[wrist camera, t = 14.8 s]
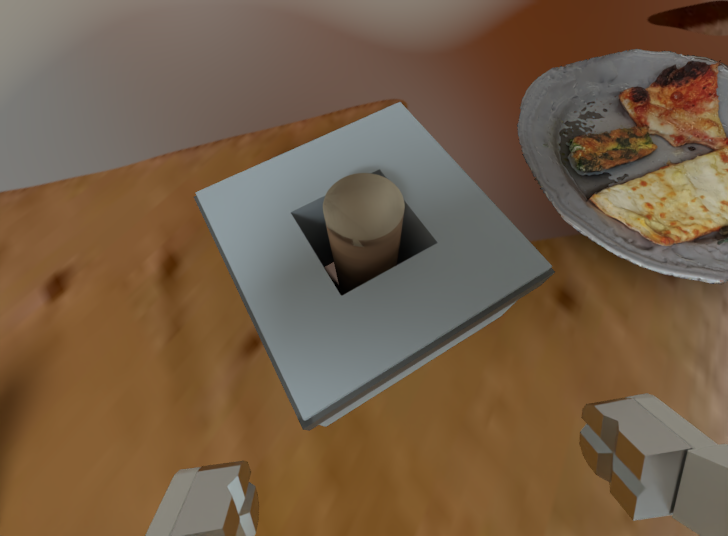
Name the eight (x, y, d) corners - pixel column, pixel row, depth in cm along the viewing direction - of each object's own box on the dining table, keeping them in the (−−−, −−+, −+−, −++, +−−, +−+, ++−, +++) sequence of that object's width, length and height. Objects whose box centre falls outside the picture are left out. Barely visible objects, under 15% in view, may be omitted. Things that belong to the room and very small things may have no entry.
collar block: (394, 178, 31) (401, 98, 24) (506, 317, 25) (559, 267, 18) (237, 256, 28) (189, 191, 21) (324, 432, 22) (300, 428, 15)
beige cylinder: (375, 252, 28) (377, 161, 19) (404, 293, 26) (420, 216, 17) (330, 276, 27) (308, 194, 18) (356, 320, 25) (348, 254, 16)
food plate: (697, 48, 37) (727, 12, 34) (896, 235, 28) (964, 208, 24) (471, 104, 35) (480, 72, 32) (600, 325, 26) (631, 310, 22)
